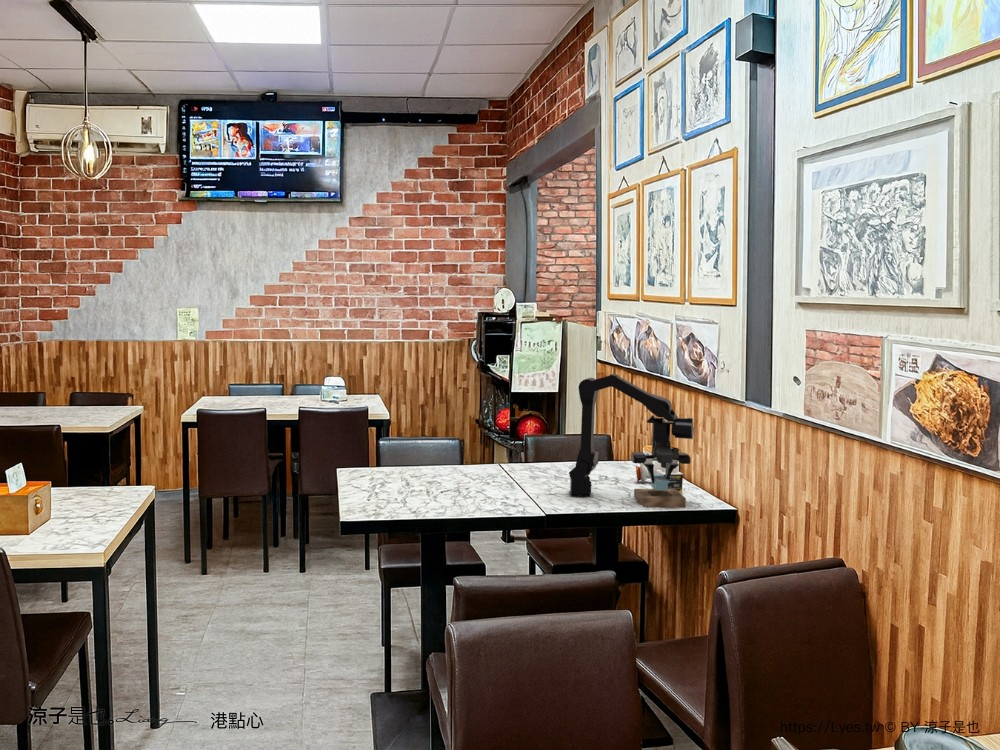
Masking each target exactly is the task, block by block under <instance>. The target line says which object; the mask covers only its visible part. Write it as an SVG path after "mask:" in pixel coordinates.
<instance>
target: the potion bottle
mask: <svg viewBox="0 0 1000 750" xmlns="http://www.w3.org/2000/svg"><path fill="white" fill-rule="evenodd" d="M653 464H654V474H656V470H662V469H661V463H659V462H658V461H654V463H653ZM677 471H679V469H678V470H677ZM635 474H636V482H637V483H638V482H639V481H641V482H642V483H643V482H644V483H645V482H646V481H647V480H651V478H650V475H649V472H648V470H647V467H646V466H645V465H644V464H642V463H640V465H639V466H637V465H635Z"/></svg>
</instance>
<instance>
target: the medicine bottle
mask: <svg viewBox="0 0 1000 750" xmlns="http://www.w3.org/2000/svg"><path fill="white" fill-rule="evenodd" d="M678 464H679V466H680V462H679V461H678ZM679 466H676V467H675V468H674V469H673V471H672V473H671V475H670V478H669V481H670V483H668V489H676V490H677V491H678V492H679V493H680V494H681V495H682V494H683V481H684V480H683V477H684V474H683V472H681V471H679V468H680V467H679ZM661 469H662V470H656V474H662V475H663V476H664V477H665V472H666V463H661ZM677 470H678V471H677Z"/></svg>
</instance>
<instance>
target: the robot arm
mask: <svg viewBox="0 0 1000 750" xmlns="http://www.w3.org/2000/svg"><path fill="white" fill-rule="evenodd" d="M610 387H612V388H614V389H615V390H618V391H619V392H620V393H623V394H624V395H626V396H628V397H630V398H631V399H633V400H635V401H637V402H639V403H641V404H642V405H643V406H644V407H645V408H646V409H647V410H648V411H649V412H650V413H652V415H651V416H650V418H649V419H647V420H646V423H647V424H652V434H651V435H652V438H651V454H645V453H644V452H642V451H633V452H632V453H630V461H631V462H632V463H633V464H643V465H644V466H646V467H647V470H648V472H649V475H650V480H651V481H650V482H651V484H654V463H653V461H654V462H656V461H658V462H659V463H666V472H665V477H666V478H667V479H668V480H669V478H670V475H671V473H672V471H673V469H674V468H675V467H676V466H680V464H681V465H690V464H691V456H690V455H689V453H687V452H680V449H679V447H671V435H672V436H673V437H674V438H675V439H686V440H694V435H695V434H694V433H695V432H694V431H695V427H694V418H693V417H678V416H677V414H676V413H675V411H674V409H673V404H672V402H671V400H669V399H668V398H666V397H662V396H660V395H656V394H653V393H651V392H650V393H649V392H647V391H646V390H644V389H642V388H641V387H639V386H636V385H635V384H633V383H632V382H630V381H628V380H626V379H625V378H623V377H621V376H619V374H617V373H611V374H609V375H606V376H603V377H599V378H594V377H589V378H584V379H583V380H581V381H580V383H578V393H579V399H580V404H581V422H580V423H581V427H580V429H581V430H580V448H579V449H578V453H577V457H576V462H575V466H574V467H573V468H572V469H571V470H570V471H569V472H568V474H569V478H570V480H569V481H570V482H569V483H570V484H569V490H568V494H569V495H570V496H571V497H591V494H592V480H591V477H590V476H591V472H593V471H594V470H595V469H596V467H597V465H598V464H599V460H598V459H599V454H600V453H599V452H600V451H595V448H594V438H595V437H594V434H595V408H596V403H597V399H598V397H599V392H600V391H601V390H603V389H607V388H610ZM655 416H656V417H655ZM678 461H679V464H678Z"/></svg>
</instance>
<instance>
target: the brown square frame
mask: <svg viewBox="0 0 1000 750" xmlns="http://www.w3.org/2000/svg"><path fill="white" fill-rule="evenodd" d="M633 490H634V491H633V498H634V497H635V498H636V499H637V500H638V501H637V500H636V499H635V498H634V499H635V500H636V501H637V503H640V504H641V505H642V506H648V507H647V508H686V502H687V501H686V499H687V498H686V497H685V496H684V495H683V494H682V493H681V494H680V493H679V492H678V491H677V490H676V489H668V490H654V489H653V488H634V489H633ZM640 504H639V505H640ZM641 505H640V506H641ZM642 506H641V507H642Z"/></svg>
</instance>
